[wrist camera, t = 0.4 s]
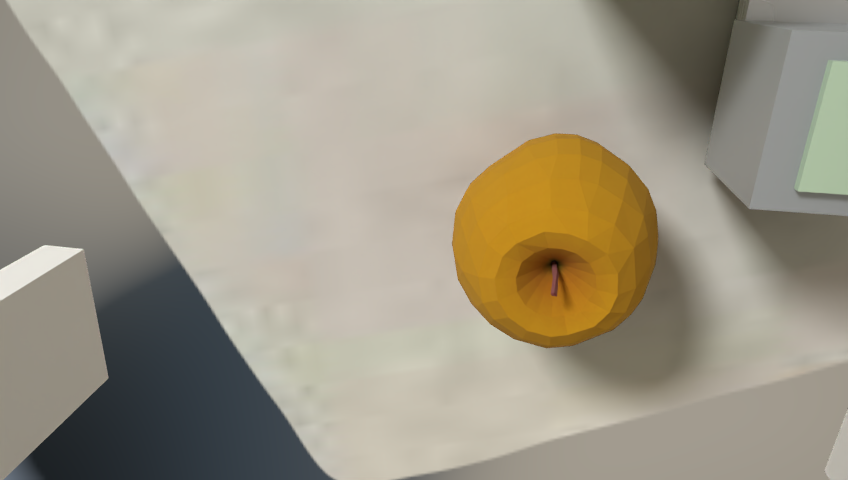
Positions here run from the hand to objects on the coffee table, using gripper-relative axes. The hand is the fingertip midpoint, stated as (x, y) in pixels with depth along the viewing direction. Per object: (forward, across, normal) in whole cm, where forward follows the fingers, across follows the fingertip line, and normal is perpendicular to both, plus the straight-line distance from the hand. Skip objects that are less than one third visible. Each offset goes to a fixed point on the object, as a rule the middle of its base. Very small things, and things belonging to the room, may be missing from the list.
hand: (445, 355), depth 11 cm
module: (+24, +15, +1) cm, 28 cm away
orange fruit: (+26, +3, -6) cm, 26 cm away
